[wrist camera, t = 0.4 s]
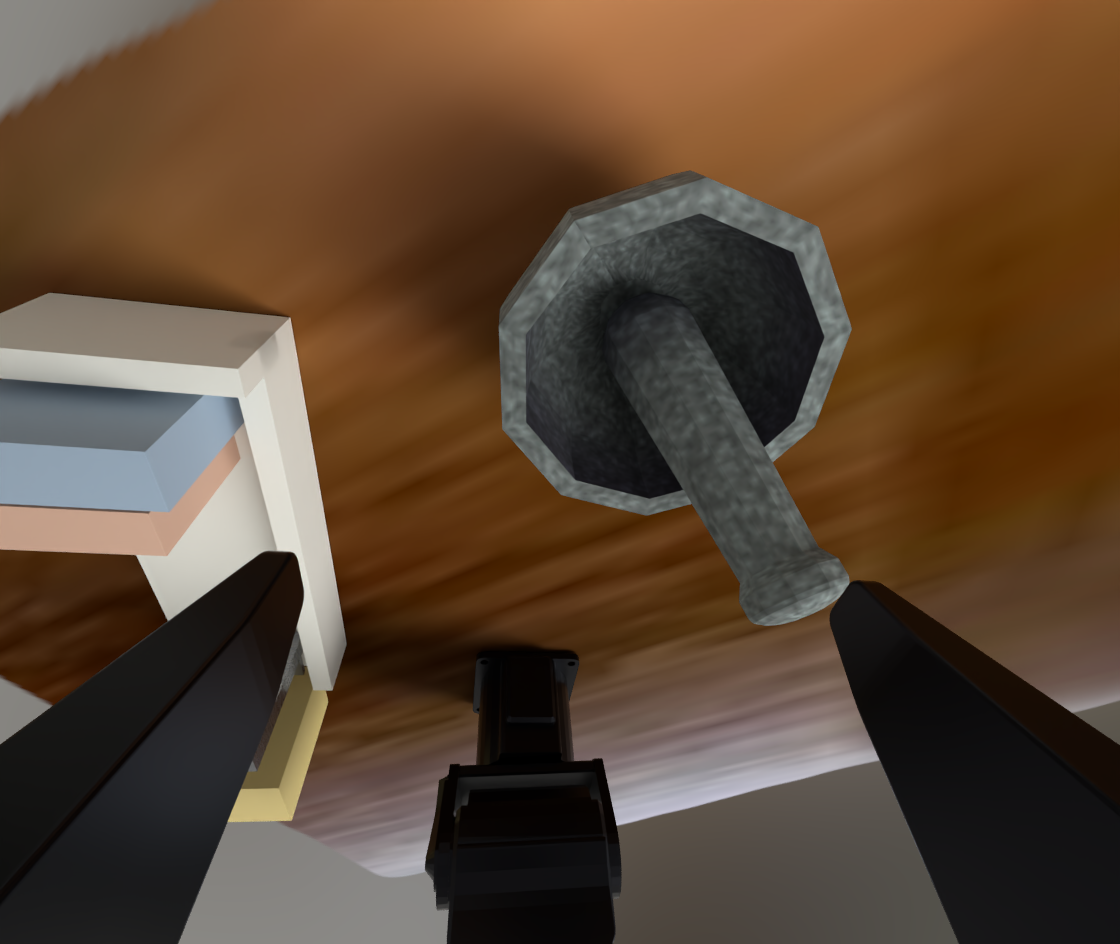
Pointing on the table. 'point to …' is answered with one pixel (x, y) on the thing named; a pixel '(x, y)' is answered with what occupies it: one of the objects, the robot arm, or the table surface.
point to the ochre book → (284, 757)
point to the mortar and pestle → (682, 371)
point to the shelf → (265, 437)
